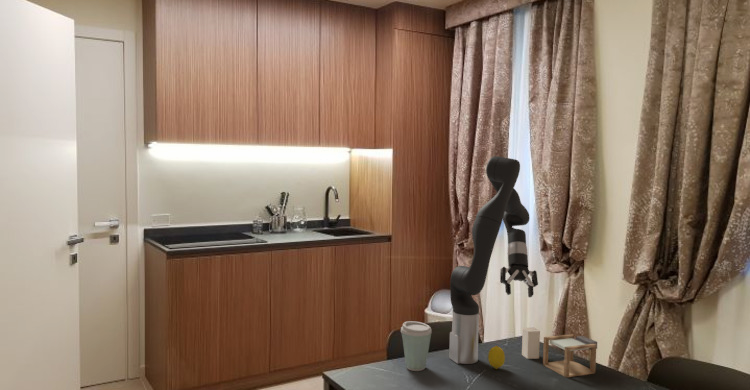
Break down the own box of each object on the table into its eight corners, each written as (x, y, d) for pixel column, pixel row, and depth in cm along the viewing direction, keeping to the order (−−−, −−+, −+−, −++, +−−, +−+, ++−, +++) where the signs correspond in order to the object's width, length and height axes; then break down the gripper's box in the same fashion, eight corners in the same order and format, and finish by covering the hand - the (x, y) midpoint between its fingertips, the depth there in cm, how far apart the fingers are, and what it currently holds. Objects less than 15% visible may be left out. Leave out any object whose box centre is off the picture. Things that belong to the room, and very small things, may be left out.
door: (567, 353, 177) (568, 346, 177) (549, 345, 186) (549, 338, 186) (599, 349, 182) (599, 342, 182) (580, 341, 190) (580, 334, 190)
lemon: (504, 372, 179) (505, 349, 179) (487, 371, 180) (488, 347, 180) (504, 366, 184) (504, 343, 184) (487, 365, 185) (488, 342, 185)
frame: (566, 377, 176) (567, 348, 175) (542, 364, 187) (543, 337, 187) (595, 373, 180) (596, 344, 179) (570, 361, 191) (571, 334, 191)
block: (527, 358, 193) (528, 331, 192) (521, 354, 197) (522, 327, 197) (538, 358, 193) (539, 331, 193) (533, 354, 198) (534, 327, 197)
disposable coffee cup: (433, 364, 186) (434, 321, 185) (429, 375, 175) (430, 330, 175) (402, 361, 188) (403, 318, 187) (397, 372, 178) (398, 327, 177)
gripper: (503, 250, 207) (505, 291, 200) (538, 254, 209) (541, 295, 201) (496, 256, 214) (498, 296, 207) (530, 260, 215) (533, 300, 208)
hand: (519, 295), depth 204 cm, fingers open, 8 cm apart
